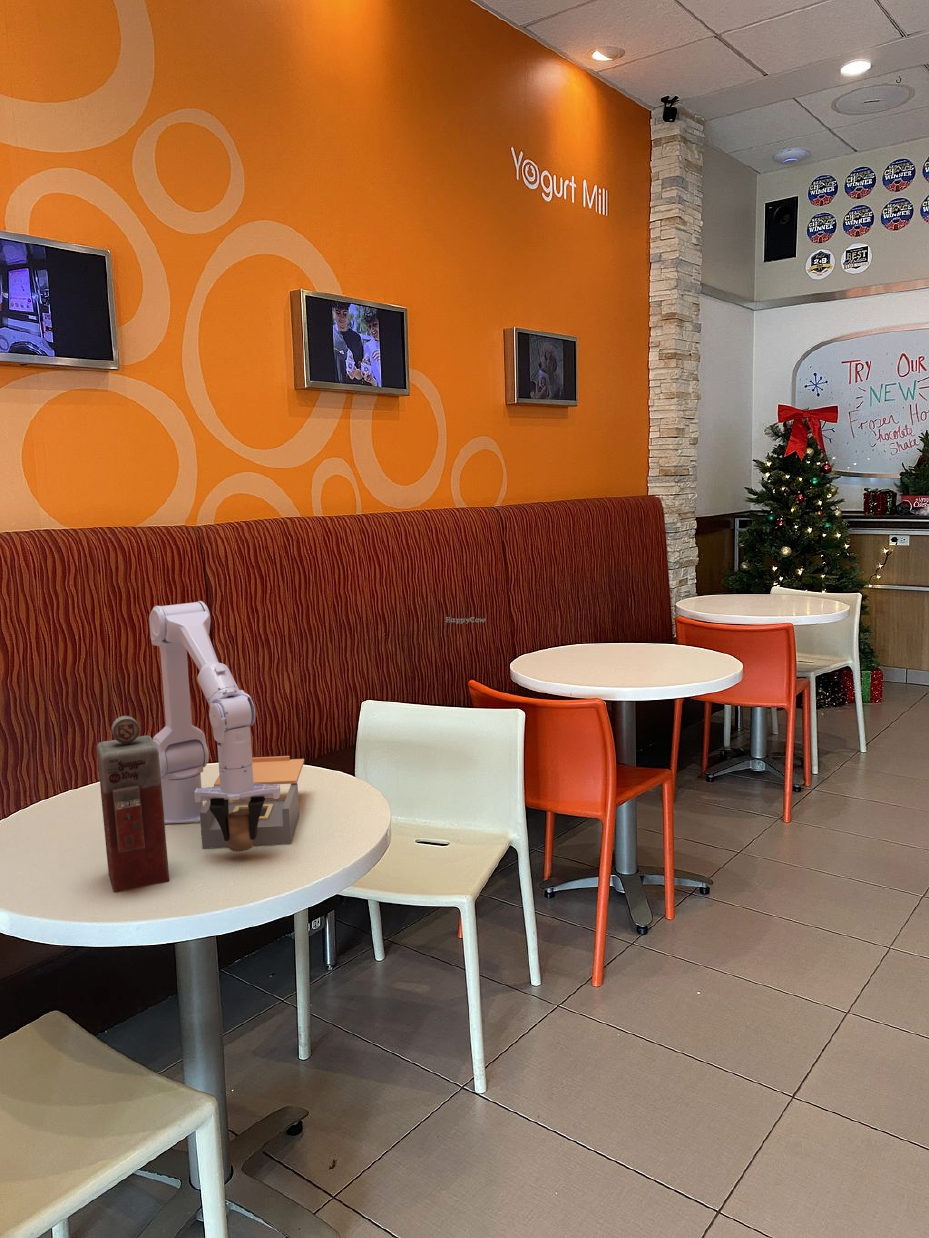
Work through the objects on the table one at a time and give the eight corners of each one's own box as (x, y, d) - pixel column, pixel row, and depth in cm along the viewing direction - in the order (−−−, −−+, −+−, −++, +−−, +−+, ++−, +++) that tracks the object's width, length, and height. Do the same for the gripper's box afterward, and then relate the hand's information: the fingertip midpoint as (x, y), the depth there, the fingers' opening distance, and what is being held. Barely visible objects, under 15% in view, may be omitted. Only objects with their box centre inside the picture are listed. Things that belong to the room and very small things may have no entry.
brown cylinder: (227, 852, 164) (225, 819, 163) (231, 843, 168) (229, 811, 167) (250, 850, 164) (248, 818, 163) (254, 841, 168) (252, 810, 167)
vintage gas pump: (114, 898, 152) (99, 730, 147) (108, 872, 162) (93, 714, 157) (171, 886, 155) (158, 722, 151) (162, 861, 165) (149, 707, 161)
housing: (202, 848, 171) (199, 812, 170) (217, 820, 185) (215, 787, 183) (290, 843, 172) (288, 808, 171) (299, 816, 185) (297, 783, 184)
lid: (213, 787, 182) (213, 780, 182) (227, 765, 196) (226, 758, 196) (296, 783, 183) (296, 776, 183) (304, 761, 197) (303, 755, 197)
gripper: (188, 773, 159) (194, 849, 161) (274, 769, 160) (279, 844, 162) (197, 760, 166) (202, 833, 168) (279, 756, 167) (284, 829, 169)
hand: (240, 838), depth 166 cm, fingers closed on brown cylinder, 4 cm apart
